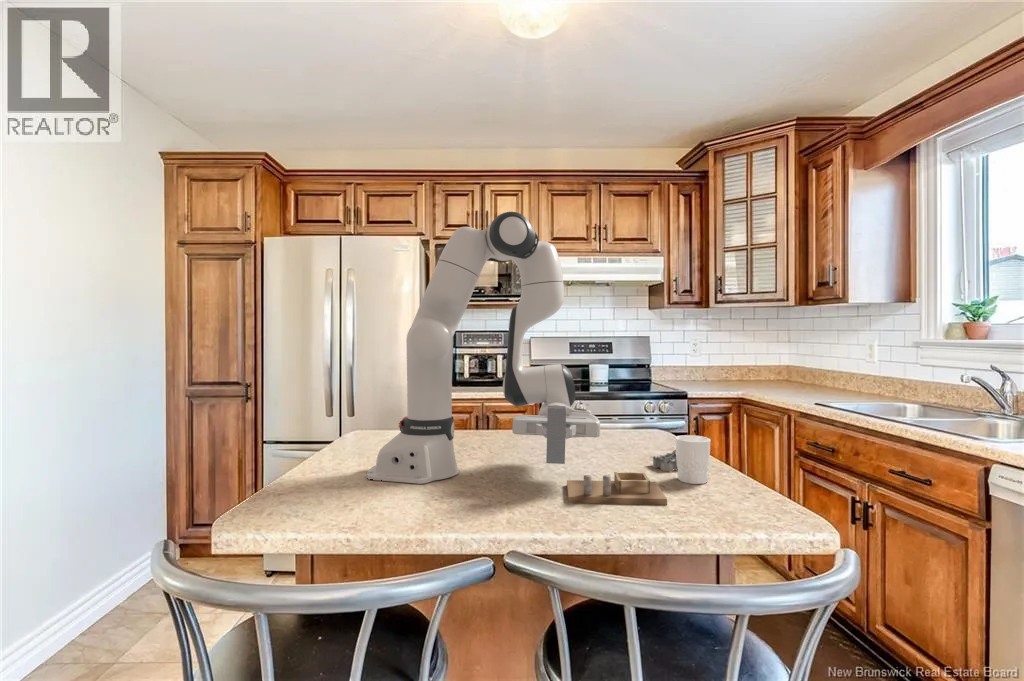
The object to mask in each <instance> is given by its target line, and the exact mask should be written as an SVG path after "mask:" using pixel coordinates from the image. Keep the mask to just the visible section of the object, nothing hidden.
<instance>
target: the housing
mask: <svg viewBox="0 0 1024 681" xmlns="http://www.w3.org/2000/svg"><path fill="white" fill-rule="evenodd" d="M613 473H614V480H612V477H611V475H607V474H605V475H602V480H592V475H590V474H584V475H583V480H580V479H579V480H575V479H574V480H573V479H572V480H571V479H567V480H566V490H567V498H568V504H570V503H571V504H576V503H577V504H605V503H614V505H615V504H616V503H617V504H619V505H653V504H659V505H660V504H661V505H662V506H665V505H666V506H667V505H668V498H667V497H666V496H665V493H663V491H662V489H661V488H660V487H659V485H658V484H657V483H656V481H651V480H650V478H649V477H648V475H647V474H646V473H645V472H639V471H638V472H635V471H633V472H632V471H631V472H627V471H626V472H625V471H622V472H621V471H620V472H619V471H614V472H613ZM617 504H616V505H617ZM661 505H660V506H661Z"/></svg>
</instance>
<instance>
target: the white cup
mask: <svg viewBox="0 0 1024 681" xmlns="http://www.w3.org/2000/svg"><path fill="white" fill-rule="evenodd" d="M674 441H675V450H676V460H677V468H678V470H677V480H679V481H680V482H683V483H685V484H691V485H702V484H706V482H707V483H708V480H709V470H710V460H711V459H710V458H711V457H710V455H711V442H712V441H711V438H709V437H707V436H702V435H694V434H692V435H691V434H684V435H677V436H675V439H674Z"/></svg>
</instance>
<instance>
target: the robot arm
mask: <svg viewBox="0 0 1024 681" xmlns="http://www.w3.org/2000/svg"><path fill="white" fill-rule="evenodd" d="M539 239H540V238H539V236H538V234H537V233H536V231H535V230H534V228H533V226H532V225H531V222H530V221H529V220H528V219H527V218H526V217H525V216H524V214H521V213H519V212H517V211H507V212H506V211H505V212H503V213H501V214H500V213H499V214H498V215H497V216H496V217H495V218H494V219H492V222H490V224H488V226H487V227H486V228H485V229H477V228H475V227H472V226H461V227H458V228H456V229H455V230H454V232H453V233H452V235H451V236H450V237H449V238H448V241H447V243H446V244H445V246H444V248H443V249H442V252H441V254H440V255H439V258H438V260H437V263H436V265H435V268H434V269H433V273H432V275H431V277H430V280H429V281H428V285H427V287H426V289H425V292H424V294H423V297H422V298H421V302H420V304H419V307H418V309H417V311H416V314H415V317H414V319H413V322H412V324H411V326H410V328H409V329H408V332H407V334H406V381H407V382H406V384H407V385H406V388H407V389H406V392H407V395H406V397H407V399H406V400H407V403H406V404H407V408H406V409H407V414H406V416H404V417H402V420H400V421H399V423H398V428H399V431H400V432H399V433H398V434H397V435H396V436H394V437H393V438H392V439H390V440H389V441H388V442H387V443H385V444H384V445H383V446H382V447H381V449H379V451H378V454H377V458H376V464H375V465H373V466H371V468H369V469H368V471H366V472H367V473H366V479H367V478H368V480H370V479H373V481H381V480H382V481H383V482H394V483H396V482H397V483H407V484H419V485H420V484H421V485H422V484H423V485H424V484H427V483H428V484H429V483H431V482H434V481H439V480H445V479H449V478H452V477H454V476H456V475H458V474H459V472H460V471H459V467H458V464H457V458H456V455H455V448H454V436H455V420H454V416H453V413H452V412H453V409H452V408H453V404H452V403H453V402H452V401H453V398H452V397H453V395H452V394H453V392H452V391H453V390H452V388H453V386H452V384H453V366H454V365H453V361H454V360H453V358H454V354H453V353H454V352H453V351H454V335H455V333H456V331H457V329H458V327H459V324H460V322H461V320H462V317H463V315H464V314H465V311H466V309H467V308H468V304H469V302H470V300H471V298H472V295H473V292H474V291H475V288H476V286H477V283H478V281H479V278H480V276H481V273H482V271H483V268H484V266H485V265H486V262H493V263H508V262H512V261H513V263H514V264H515V265H516V266H517V268H518V272H519V274H520V286H521V289H520V290H521V294H520V299H519V302H518V303H517V305H515V306H514V307H513V308H512V309H511V312H510V318H509V324H508V336H507V337H508V338H507V352H506V363H505V372H504V377H503V382H502V392H503V396H504V399H505V400H506V401H507V402H508V403H509V404H511V405H513V406H514V407H522V406H528V405H533V404H542V405H541V407H540V409H539V411H538V414H537V415H535V414H518V415H516V416H514V417H513V418H512V427H511V429H512V430H511V431H512V433H513V434H514V435H522V436H523V435H525V436H542V437H544V438H546V439H547V412H548V406H566V434H565V440H567V439H572V438H573V439H575V438H600V435H601V421H600V420H599V418H598V417H597V415H594V414H593V413H592V411H591V410H590V409H584V408H578V407H572V406H573V404H574V403H575V401H576V387H575V382H574V377H573V374H572V372H571V370H570V369H569V368H568V367H567V366H565V365H564V364H563V363H558V364H557V363H556V364H546V365H539V366H527V367H525V366H523V365H522V361H523V360H522V356H523V348H524V346H523V344H524V343H523V342H524V336H525V335H526V332H527V331H528V330H529V329H530V328H532V327H534V325H536V324H539V323H541V322H543V321H545V320H547V319H548V318H550V317H552V316H554V315H555V314H556V313H557V312H558V311H559V310H560V309H561V307H562V306H563V303H564V300H565V298H564V297H565V289H564V287H565V285H564V276H563V271H562V266H561V260H560V257H559V254H558V251H557V248H556V247H555V245H553V243H550V242H548V241H546V240H545V241H544V240H539Z"/></svg>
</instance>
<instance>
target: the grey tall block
mask: <svg viewBox="0 0 1024 681" xmlns="http://www.w3.org/2000/svg"><path fill="white" fill-rule="evenodd" d="M565 434H566V406H548V412H547V438H546V462H545V463H546V464H554V465H555V464H556V465H557V464H558V465H565V463H566V439H565Z"/></svg>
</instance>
